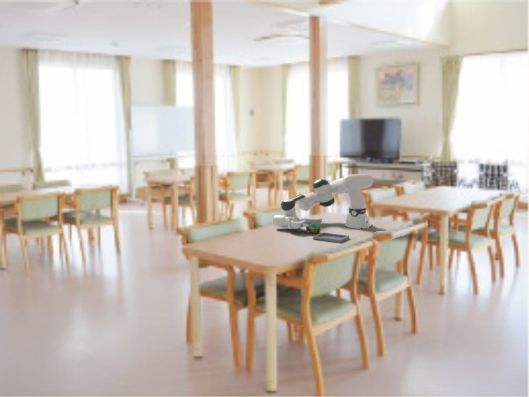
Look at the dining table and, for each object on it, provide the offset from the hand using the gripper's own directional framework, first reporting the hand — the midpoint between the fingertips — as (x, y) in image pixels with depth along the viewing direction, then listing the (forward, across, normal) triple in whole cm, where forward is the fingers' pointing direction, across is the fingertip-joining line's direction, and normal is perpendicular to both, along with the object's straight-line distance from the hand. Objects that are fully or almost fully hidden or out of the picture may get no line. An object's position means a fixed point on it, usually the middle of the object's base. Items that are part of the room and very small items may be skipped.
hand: (311, 224), depth 369 cm
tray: (+19, +10, -6) cm, 22 cm away
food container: (+2, 0, -6) cm, 7 cm away
